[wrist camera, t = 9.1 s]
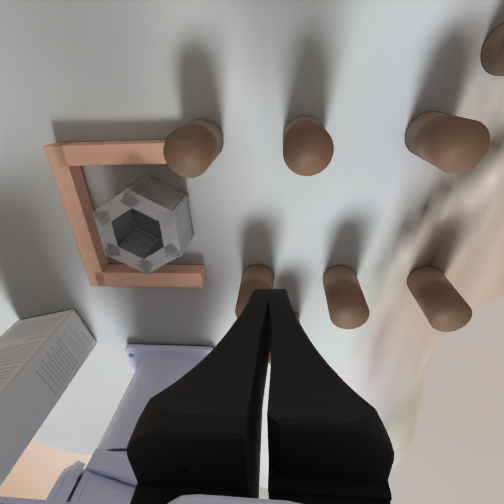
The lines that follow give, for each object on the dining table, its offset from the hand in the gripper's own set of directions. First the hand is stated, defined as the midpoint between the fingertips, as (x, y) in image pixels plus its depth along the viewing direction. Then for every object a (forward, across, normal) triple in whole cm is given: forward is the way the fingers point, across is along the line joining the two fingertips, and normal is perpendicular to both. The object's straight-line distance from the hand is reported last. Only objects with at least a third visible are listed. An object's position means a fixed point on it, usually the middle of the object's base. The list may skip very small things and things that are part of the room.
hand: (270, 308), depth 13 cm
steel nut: (+10, +8, 0) cm, 13 cm away
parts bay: (+10, +9, 0) cm, 13 cm away
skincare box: (+10, +19, +11) cm, 24 cm away
